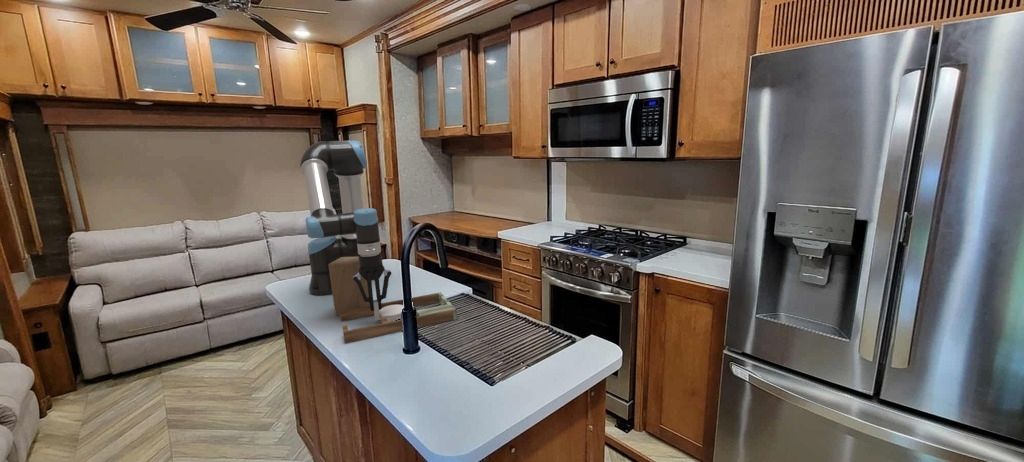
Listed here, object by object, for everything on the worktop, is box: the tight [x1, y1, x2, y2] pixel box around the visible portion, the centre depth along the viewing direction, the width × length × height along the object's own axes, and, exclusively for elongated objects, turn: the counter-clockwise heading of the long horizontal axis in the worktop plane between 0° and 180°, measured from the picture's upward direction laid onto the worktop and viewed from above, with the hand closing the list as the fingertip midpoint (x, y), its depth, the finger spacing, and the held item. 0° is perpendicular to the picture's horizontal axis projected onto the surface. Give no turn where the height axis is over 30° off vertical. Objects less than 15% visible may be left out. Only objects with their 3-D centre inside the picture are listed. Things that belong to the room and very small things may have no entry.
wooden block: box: [329, 257, 370, 316], centre depth 161 cm, size 10×10×20 cm
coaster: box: [379, 305, 403, 322], centre depth 153 cm, size 10×10×4 cm
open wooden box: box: [339, 292, 458, 344], centre depth 151 cm, size 21×37×4 cm, turn 115°
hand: (377, 318), depth 150 cm, fingers closed
